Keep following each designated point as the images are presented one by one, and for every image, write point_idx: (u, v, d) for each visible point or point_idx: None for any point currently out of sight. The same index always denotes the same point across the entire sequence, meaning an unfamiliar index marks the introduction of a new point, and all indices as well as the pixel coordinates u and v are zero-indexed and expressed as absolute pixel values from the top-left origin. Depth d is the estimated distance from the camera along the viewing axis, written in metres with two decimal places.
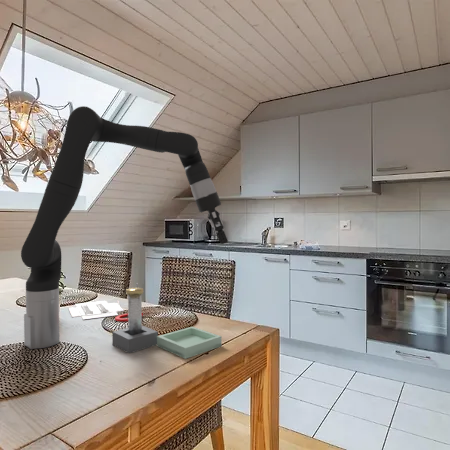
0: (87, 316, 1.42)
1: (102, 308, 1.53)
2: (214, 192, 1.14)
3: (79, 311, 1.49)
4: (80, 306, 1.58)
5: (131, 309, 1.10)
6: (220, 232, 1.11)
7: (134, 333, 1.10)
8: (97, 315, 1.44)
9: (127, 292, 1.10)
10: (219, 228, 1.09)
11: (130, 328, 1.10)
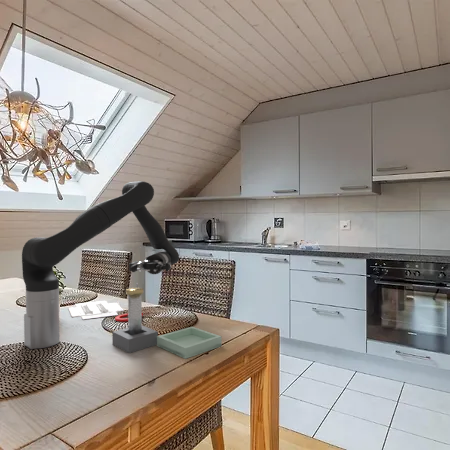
0: (87, 316, 1.42)
1: (102, 308, 1.53)
2: None
3: (79, 311, 1.49)
4: (80, 306, 1.58)
5: (131, 309, 1.10)
6: (162, 267, 1.26)
7: (134, 333, 1.10)
8: (97, 315, 1.44)
9: (127, 292, 1.10)
10: (168, 267, 1.27)
11: (130, 328, 1.10)
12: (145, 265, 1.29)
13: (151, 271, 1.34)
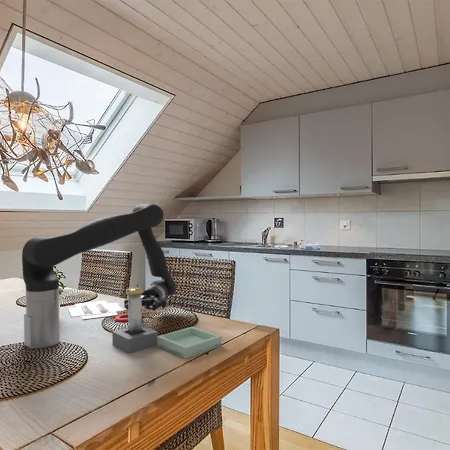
0: (87, 316, 1.42)
1: (102, 308, 1.54)
2: None
3: (79, 311, 1.49)
4: (80, 306, 1.58)
5: (131, 309, 1.10)
6: (159, 304, 1.21)
7: (134, 333, 1.10)
8: (97, 315, 1.44)
9: (127, 292, 1.10)
10: (165, 304, 1.22)
11: (130, 328, 1.10)
12: (141, 301, 1.24)
13: (147, 306, 1.29)
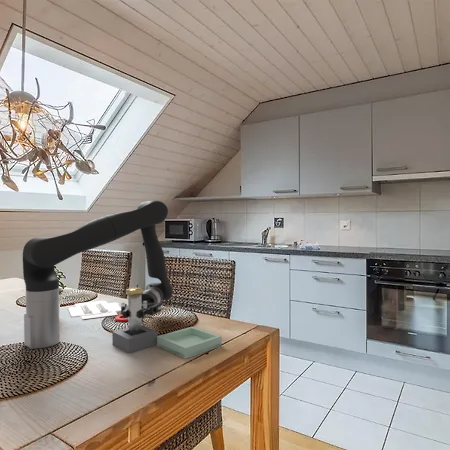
0: (86, 316, 1.43)
1: (101, 308, 1.54)
2: None
3: (78, 311, 1.49)
4: (79, 306, 1.58)
5: (131, 308, 1.10)
6: (146, 311, 1.12)
7: (134, 333, 1.10)
8: (96, 315, 1.44)
9: (127, 292, 1.10)
10: (152, 310, 1.13)
11: (130, 328, 1.10)
12: None
13: None
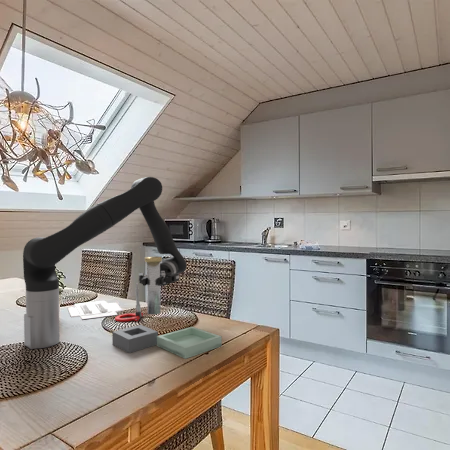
0: (86, 316, 1.43)
1: (101, 308, 1.54)
2: None
3: (78, 311, 1.50)
4: (79, 306, 1.58)
5: (150, 276, 1.09)
6: (165, 279, 1.12)
7: (153, 301, 1.10)
8: (96, 315, 1.44)
9: (146, 260, 1.09)
10: (171, 279, 1.13)
11: (149, 296, 1.10)
12: None
13: None
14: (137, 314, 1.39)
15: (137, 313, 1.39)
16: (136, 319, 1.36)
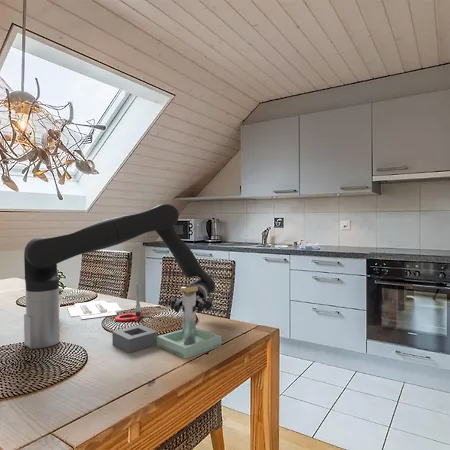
0: (86, 316, 1.43)
1: (101, 308, 1.54)
2: None
3: (78, 311, 1.50)
4: (79, 306, 1.58)
5: (186, 306, 1.08)
6: (203, 306, 1.11)
7: (189, 331, 1.08)
8: (96, 315, 1.44)
9: (182, 290, 1.08)
10: (209, 305, 1.12)
11: (185, 326, 1.08)
12: None
13: None
14: (137, 314, 1.39)
15: (137, 313, 1.39)
16: (136, 319, 1.36)
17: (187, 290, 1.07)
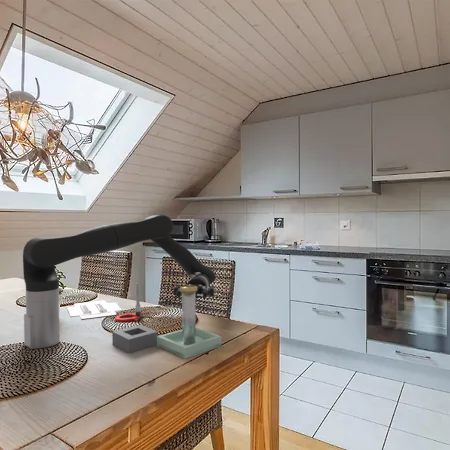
0: (85, 316, 1.43)
1: (101, 308, 1.54)
2: None
3: (78, 311, 1.50)
4: (79, 306, 1.58)
5: (186, 306, 1.08)
6: (208, 292, 1.25)
7: (189, 331, 1.08)
8: (95, 315, 1.44)
9: (182, 290, 1.08)
10: (213, 292, 1.26)
11: (185, 326, 1.09)
12: None
13: None
14: (137, 314, 1.39)
15: (137, 313, 1.39)
16: (136, 319, 1.36)
17: (187, 290, 1.07)
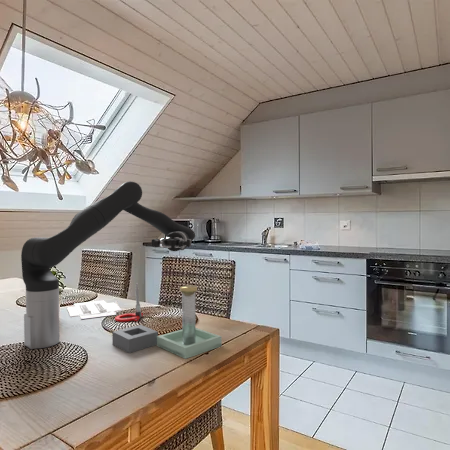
0: (85, 316, 1.43)
1: (100, 308, 1.54)
2: (182, 248, 1.43)
3: (77, 311, 1.50)
4: (79, 306, 1.59)
5: (186, 306, 1.08)
6: (184, 243, 1.30)
7: (189, 331, 1.08)
8: (95, 315, 1.44)
9: (182, 290, 1.08)
10: (189, 243, 1.31)
11: (185, 326, 1.08)
12: (167, 241, 1.33)
13: (171, 248, 1.38)
14: (137, 314, 1.39)
15: (137, 313, 1.39)
16: (136, 319, 1.36)
17: (186, 290, 1.07)
